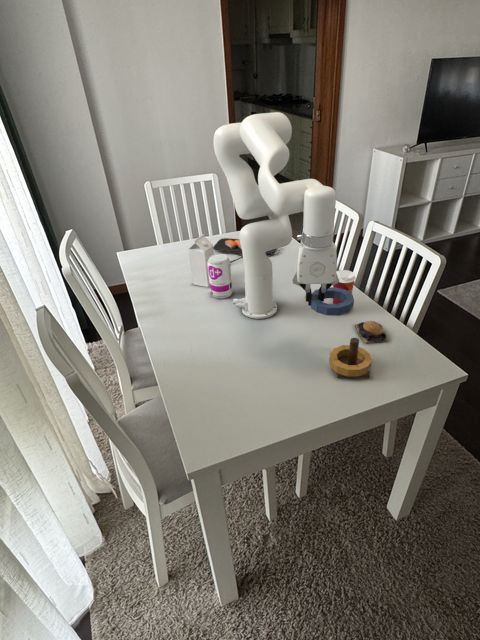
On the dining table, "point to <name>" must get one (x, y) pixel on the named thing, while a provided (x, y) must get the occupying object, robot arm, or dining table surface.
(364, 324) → the bun on tray
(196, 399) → the dining table surface
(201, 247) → the milk carton
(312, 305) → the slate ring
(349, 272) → the paper cup
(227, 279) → the supplement can
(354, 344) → the stand
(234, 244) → the sushi plate
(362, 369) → the brass ring
